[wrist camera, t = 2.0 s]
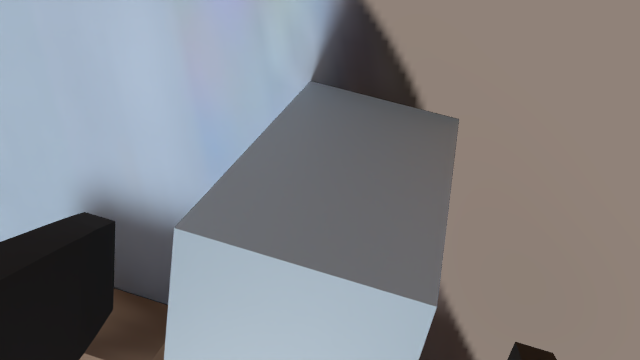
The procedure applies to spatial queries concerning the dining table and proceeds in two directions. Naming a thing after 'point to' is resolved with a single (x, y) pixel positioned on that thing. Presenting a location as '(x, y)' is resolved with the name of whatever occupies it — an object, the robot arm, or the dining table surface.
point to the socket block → (131, 330)
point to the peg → (318, 237)
